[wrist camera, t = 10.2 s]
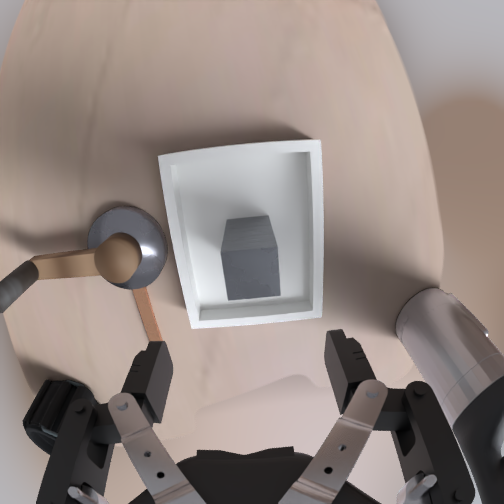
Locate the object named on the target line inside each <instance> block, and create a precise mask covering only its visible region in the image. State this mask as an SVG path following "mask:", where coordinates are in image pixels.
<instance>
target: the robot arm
mask: <svg viewBox="0 0 504 504" xmlns="http://www.w3.org/2000/svg"><path fill="white" fill-rule="evenodd" d="M396 334H397V336H398V338H399V339H400V341H401V342H402V344H403V345H404V347H405V349H406V350H407V352H408V354H409V355H410V357H411V359H412V360H413V362H414V363H415V365H416V366H417V368H418V370H419V372H420V373H421V375H422V377H423V378H424V380H425V382H426V383H425V382H422V381H414V382H411V383H410V384H408V386H407V387H406V389H392V388H387V387H386V385H385V384H384V383H382V382H381V381H378V380H377V379H376V377H375V375H374V372H373V370H372V368H371V366H370V364H369V362H368V360H367V358H366V355H365V353H364V352H363V349H362V347H361V345H360V343H359V342H357V341H356V340H355V339H354V338H346V336H345V334H344V332H343V330H342V329H338V330H331V331H327V333H326V343H325V352H324V359H325V365H326V368H327V372H328V375H329V378H330V381H331V385H332V388H333V391H334V395H335V398H336V402H337V405H338V408H339V412H340V415H341V414H343V416H342V417H341V418H339V419H338V420H337V422H336V423H335V425H334V427H333V428H332V430H331V432H330V433H329V435H328V437H327V438H326V440H325V441H324V443H323V444H322V446H321V447H320V449H319V450H318V452H317V454H316V455H315V456H314V457H312V456H310V455H307V454H303V453H298V452H294V448H293V446H292V447H282V448H272V449H266V450H263V451H259V452H255V453H251V454H247V455H240V454H236V453H231V452H226V451H221V450H197V456H193V457H190V458H187V459H184V460H182V461H180V462H178V463H177V464H175V463H174V461H173V460H172V458H171V457H170V455H169V454H168V452H167V451H166V449H165V448H164V446H163V445H162V443H161V442H160V440H159V439H158V437H157V435H156V434H155V432H154V431H153V429H152V427H153V423H161V421H162V417H163V412H164V408H165V404H166V399H167V395H168V391H169V387H170V383H171V379H172V375H173V364H172V360H171V357H170V354H169V351H168V348H167V345H166V342H165V341H150V342H149V344H148V346H147V349H146V351H140V352H139V353H138V354H137V355H136V356H135V358H134V360H133V363H132V366H131V368H130V370H129V371H130V372H129V373H128V375H127V378H126V380H125V383H124V385H123V388H122V391H121V393H119V394H116V395H114V396H113V397H112V398H111V399H110V400H109V402H108V403H105V404H99V405H92V403H91V402H90V401H89V400H87V399H77V400H75V401H74V402H72V403H71V404H70V406H69V408H68V410H67V413H66V415H65V418H64V420H63V423H62V425H61V428H60V430H59V433H58V436H57V438H56V441H55V444H54V447H53V449H52V452H51V455H50V458H49V461H48V464H47V467H46V471H45V473H44V477H43V480H42V483H41V487H40V490H39V494H38V497H37V501H36V504H109V503H108V501H107V500H106V499H105V498H104V492H105V486H106V481H107V476H108V471H109V467H110V462H111V458H112V454H113V449H114V445H115V443H122V444H123V446H124V448H125V450H126V452H127V453H128V455H129V457H130V459H131V461H132V463H133V465H134V467H135V468H136V470H137V472H138V474H139V475H140V477H141V479H142V481H143V482H144V484H145V486H146V487H147V489H146V490H145V491H144V492H142V493H141V494H140V495H139V496H137V497H136V498H135V499H134V500H132V501H131V502H130V503H129V504H381V503H379V502H378V501H376V500H375V499H373V498H372V497H370V496H369V495H367V494H366V493H364V492H363V491H361V490H360V489H358V488H357V487H355V486H354V485H352V484H351V483H349V482H348V481H347V478H348V476H349V474H350V473H351V471H352V469H353V467H354V466H355V464H356V462H357V460H358V458H359V456H360V454H361V452H362V450H363V448H364V446H365V444H366V442H367V440H368V438H369V436H370V434H371V432H372V430H378V431H391V434H392V438H393V441H394V444H395V448H396V451H397V454H398V458H399V461H400V464H401V468H402V472H403V476H404V479H405V483H406V484H405V485H404V486H403V487H402V488H401V489H400V491H399V492H398V494H397V504H471V503H472V502H473V500H474V497H475V488H474V485H473V482H472V480H471V477H470V474H469V471H468V469H467V466H466V463H465V461H464V458H463V456H462V453H461V451H460V449H459V446H458V444H457V441H456V439H455V437H454V434H455V436H456V438H457V440H458V442H459V444H460V447H461V449H462V452H463V453H464V456H465V458H466V460H467V462H468V465H469V467H470V469H471V472H472V475H473V477H474V480H475V483H476V485H477V488H478V492H479V495H480V498H481V501H482V504H504V457H502V456H501V447H502V444H503V441H504V355H503V354H502V353H501V352H500V350H499V349H498V348H497V347H496V346H495V345H494V344H493V342H492V341H491V340H490V339H489V338H488V337H487V336H488V330H487V329H486V328H485V327H484V326H483V325H482V323H480V321H479V320H478V319H477V318H476V317H475V316H474V315H473V314H472V313H471V312H470V311H469V310H468V309H467V308H466V307H465V306H464V305H463V304H462V303H461V302H460V301H459V300H458V299H457V298H456V297H455V296H454V295H453V294H452V293H449V294H447V293H445V292H444V291H443V290H441V289H439V288H430V289H426V290H424V291H421V292H420V293H418V294H416V295H415V296H414V297H413V298H411V299H410V300H409V301H408V302H407V304H406V305H405V306H404V307H403V309H402V310H401V312H400V314H399V316H398V319H397V322H396ZM448 422H449V423H448ZM449 424H450V425H449ZM450 426H451V427H450ZM451 428H452V430H453V432H454V434H453V432H452V430H451Z"/></svg>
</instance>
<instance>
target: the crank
mask: <svg viewBox="0 0 504 504" xmlns="http://www.w3.org/2000/svg"><path fill="white" fill-rule="evenodd" d="M141 261H142V250H141V247H140V245H139V243H138V242H137V240H136V239H135V238H134V237H132V236H131V235H129V234H127V233H123V232H118V233H114V234H112V235H111V236H110V237H108V238H107V239H106V240H105V241H104V242H103V243H102V244H100V245H99V246H98V247H97V248H91V249H83V250H76V251H68V252H60V253H53V254H45V255H38V256H34V257H33V258H31V259H30V260H27V261H25V262H24V263H23V264H21V265H20V266H19V267H18V268H16V269H15V270H14V271H13V272H11V273H10V274H9V275H8V276H6V277H5V278H4V279H3V280H2V281H0V313H3V312H4V311H5V310H6V309H7V308H8V307H9V306H10V305H11V304H12V303H13V302H14V301H15V300H16V299H17V298H18V297H19V296H20V295H22V294H23V293H24V292H25V291H26V290H27V289H28V288H29V287H30V286H31V285H32V284H33V283H34V282H35V281H37V280H44V279H58V278H71V277H85V276H98V275H101V276H102V277H104V278H105V279H106V280H108V281H110V282H113V283H123V282H126V281H127V280H129V279H130V278H131V276H132V275H133V273H134V272H135V271H136V269H137V268H138V266H139V265H140V263H141Z"/></svg>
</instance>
